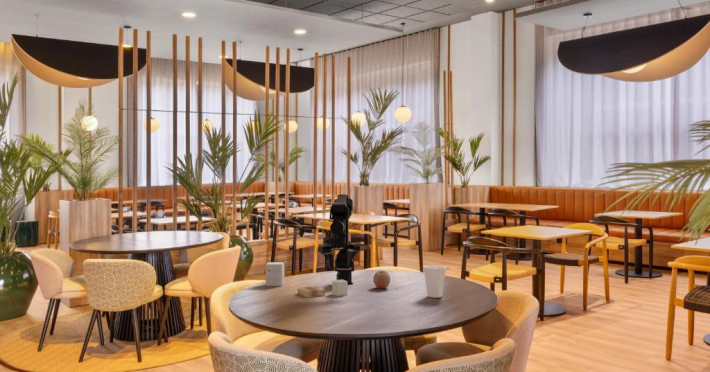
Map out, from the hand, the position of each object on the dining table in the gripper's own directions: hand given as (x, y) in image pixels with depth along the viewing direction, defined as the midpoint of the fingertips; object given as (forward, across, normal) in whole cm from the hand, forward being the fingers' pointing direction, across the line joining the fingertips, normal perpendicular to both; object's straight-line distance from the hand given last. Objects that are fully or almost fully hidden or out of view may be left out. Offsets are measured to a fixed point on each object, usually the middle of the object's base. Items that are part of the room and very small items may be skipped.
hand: (339, 267), depth 258 cm
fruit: (+12, -23, -2) cm, 26 cm away
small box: (+12, +17, -34) cm, 40 cm away
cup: (+12, -33, +25) cm, 43 cm away
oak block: (+12, +11, -6) cm, 17 cm away
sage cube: (+12, 0, 0) cm, 12 cm away
